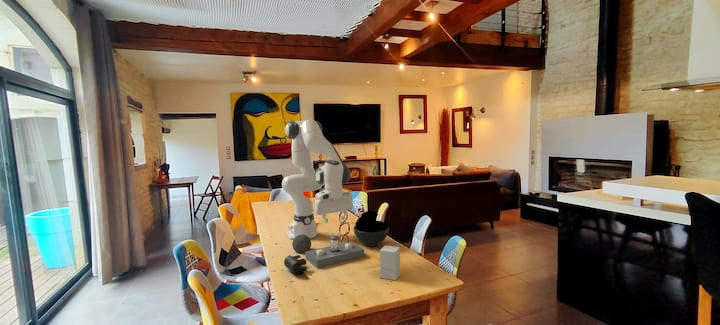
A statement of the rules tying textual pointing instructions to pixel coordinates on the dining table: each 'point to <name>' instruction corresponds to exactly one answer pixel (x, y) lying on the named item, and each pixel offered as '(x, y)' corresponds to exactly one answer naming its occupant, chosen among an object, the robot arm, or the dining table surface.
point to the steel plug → (334, 244)
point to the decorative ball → (301, 243)
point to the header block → (334, 255)
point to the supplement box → (390, 262)
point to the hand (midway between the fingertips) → (334, 221)
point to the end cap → (295, 264)
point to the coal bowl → (370, 229)
